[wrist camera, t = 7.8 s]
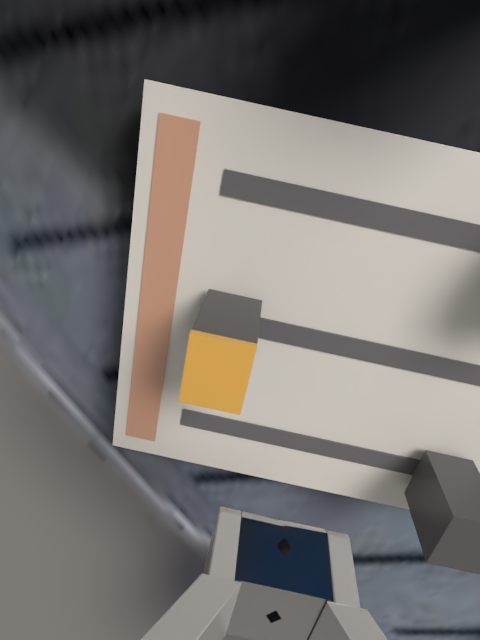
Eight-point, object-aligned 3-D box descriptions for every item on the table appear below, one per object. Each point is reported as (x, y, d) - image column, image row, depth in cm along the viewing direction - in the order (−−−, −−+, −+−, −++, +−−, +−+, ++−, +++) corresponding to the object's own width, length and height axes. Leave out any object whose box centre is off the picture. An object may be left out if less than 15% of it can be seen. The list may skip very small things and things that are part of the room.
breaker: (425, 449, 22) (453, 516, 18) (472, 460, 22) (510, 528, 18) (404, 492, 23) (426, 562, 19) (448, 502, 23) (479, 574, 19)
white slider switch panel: (164, 84, 19) (143, 78, 16) (704, 202, 19) (777, 218, 16) (129, 411, 27) (111, 446, 24) (512, 494, 27) (538, 539, 24)
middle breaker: (208, 288, 19) (189, 333, 15) (262, 300, 19) (256, 347, 15) (198, 347, 20) (178, 401, 17) (248, 358, 20) (240, 415, 17)
